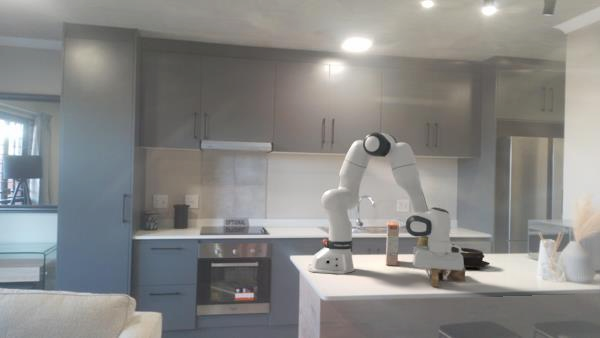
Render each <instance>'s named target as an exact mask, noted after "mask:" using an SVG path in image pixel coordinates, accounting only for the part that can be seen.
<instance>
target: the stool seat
mask: <svg viewBox="0 0 600 338" xmlns="http://www.w3.org/2000/svg"><path fill="white" fill-rule="evenodd" d="M429 274H431V269H430V271H429ZM445 274H446V270H445V269H438V281H440V280H441V281H442V282H445V281H446V282H447V281H449V282H451V281H452V282H455V281H456V282H457V281H458V282H465V281H466V269H465V267H464V268H463V270H461V271H460V270H450V273H449V275H448V276H447V280H443V275H445Z"/></svg>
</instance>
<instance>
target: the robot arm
mask: <svg viewBox="0 0 600 338" xmlns="http://www.w3.org/2000/svg"><path fill="white" fill-rule="evenodd" d="M374 157H376V158H386V159H387V160H388V161H389V163H390V167H391V172H392V175H393V178H394V181H395V183H396V184H397V186H399V187H400V188H402V189H403V190H404V191H405V192H406V193H407V195H408V197H409V200H410V204H411V206H412V210H413V215H411V216H409V217H408V218H407V220H406V221H405V229H406V232H407V233H408V234H409V235H411V236H413V237H415V238H416V237H418V238H420V237H421V236H428V246H420V245H418V244H417V245H415V246H414V247H413V252H412V253H413V259H412V265H413V267H415V268H418V269H425V270H424V271H425V272H426V274H427V279H428V280H431V279H432V275H431V274H430V269H445V270H446V274H445V275H443V280H447V276H448V275H449V273H450V270H460V271H461V270H463V268H464V261H463V256H462V255H461V254H460V253H461V252H462V249H461V248H462V247H460V246H458V245H455V244H453V243H451V238H450V234H451V229H452V226H451V225H452V224H451V223H452V222H451V221H452V220H451V215H450V212H449V211H448V210H446V209H445V208H440V207H431V208H430V209H429V207H428V205H427V202H426V198H425V195H424V191H423V189H422V183H421V178H420V172H419V167H418V163H417V159H416V157H415V154H414V152H413V149H412V147H411V146H410V144H408V143H407V142H397V140H396V138H395V137H394V136H393V135H391V134H388V133H386V132H377V131H376V132H370V133H369V134H367V135H366V136H365V137H364V138H363V140H362V139H358V140H355V141H353V142H352V144H351V146H350V148H349V149H348V151H347V153H346V155H345V158H344V160H343V162H342V166H341V168H340V170H339V175H338V176H339V185H338V188H331V189H329V190H327V191H325V192H324V193H323V194H322V196H321V205H322V207H323V209H324V210H325V212H326V216H327V221H328V239H323V240H322V243H323V245H324V247H323V248H322V249H320V250H318V251H317V252H316V253H315V254H314V255H313V257H312V261H311V262H312V263H310V264H308V265H307V270H308V271H309V272H312V273H319V274H323V273H324V274H339V275H344V274H347V273H351V272H354V271H355V266H354V262H353V251H354V250H353V249H354V248H353V247H354V246H353V245H354V244H353V239H352V238H353V237H352V236H353V234H352V233H353V224H352V222H351V220H350V219H349V218H350V217H349V214H348V211H351V210H354V209H355V208H356V207H358V205H359V204H360V195H359V193H360V189H361V183H362V180H363V178H364V175H365V172H366V170H367V167H368V165H369V163H370V161H371V159H372V158H374Z"/></svg>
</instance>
